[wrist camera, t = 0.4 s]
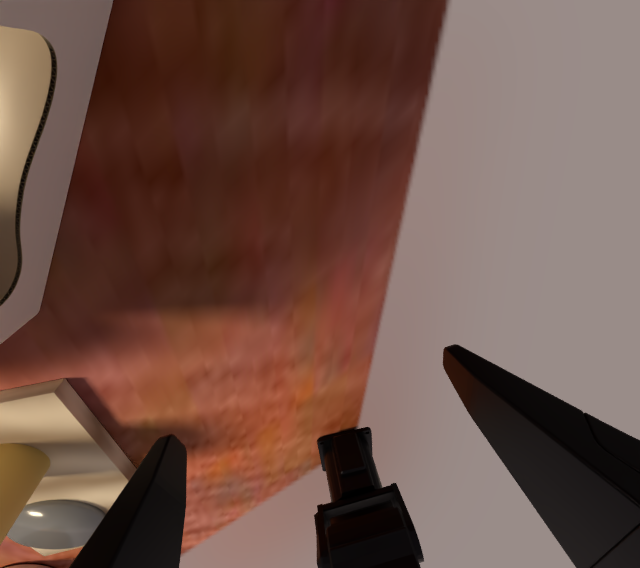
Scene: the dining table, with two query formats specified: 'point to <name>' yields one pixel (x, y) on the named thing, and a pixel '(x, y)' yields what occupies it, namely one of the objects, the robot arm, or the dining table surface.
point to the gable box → (40, 135)
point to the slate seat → (56, 524)
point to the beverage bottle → (28, 566)
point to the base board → (65, 445)
